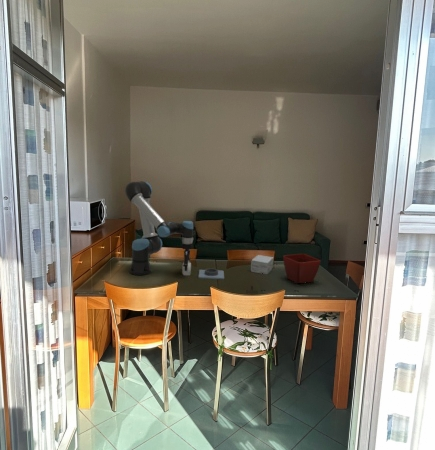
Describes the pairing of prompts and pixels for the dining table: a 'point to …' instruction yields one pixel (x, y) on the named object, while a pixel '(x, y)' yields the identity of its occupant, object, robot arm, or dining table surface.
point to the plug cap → (188, 268)
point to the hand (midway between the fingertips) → (186, 271)
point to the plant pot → (301, 267)
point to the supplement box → (262, 264)
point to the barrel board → (211, 274)
